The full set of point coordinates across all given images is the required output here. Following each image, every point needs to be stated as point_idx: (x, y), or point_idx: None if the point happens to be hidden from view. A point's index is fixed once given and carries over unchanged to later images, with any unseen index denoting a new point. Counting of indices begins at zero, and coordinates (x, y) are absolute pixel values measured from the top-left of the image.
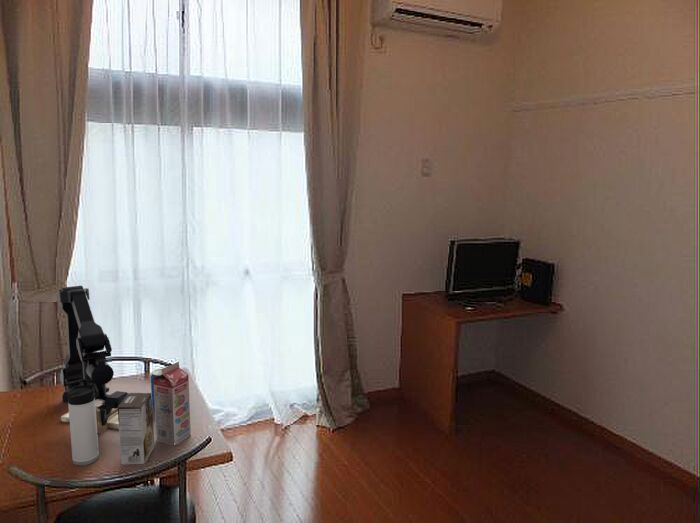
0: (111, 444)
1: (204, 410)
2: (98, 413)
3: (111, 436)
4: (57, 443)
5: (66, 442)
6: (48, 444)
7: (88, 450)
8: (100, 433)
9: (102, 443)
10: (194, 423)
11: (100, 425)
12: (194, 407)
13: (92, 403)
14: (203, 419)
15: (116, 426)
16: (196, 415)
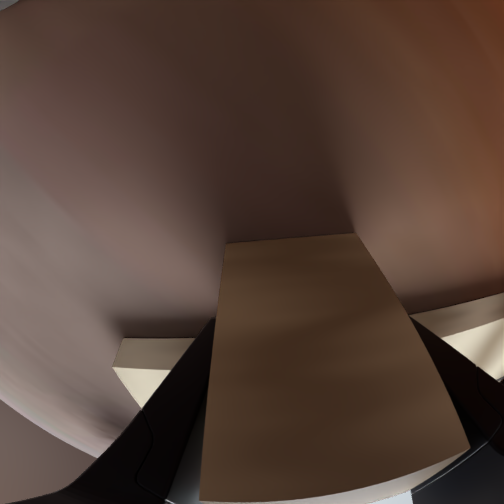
0: (12, 149)
1: (63, 440)
2: (216, 461)
3: (105, 242)
4: (455, 14)
5: (410, 27)
6: (488, 7)
7: None
8: (225, 246)
9: (68, 122)
10: (4, 390)
11: (221, 305)
12: (99, 454)
13: None
14: (15, 406)
15: (176, 351)
16: (47, 425)
